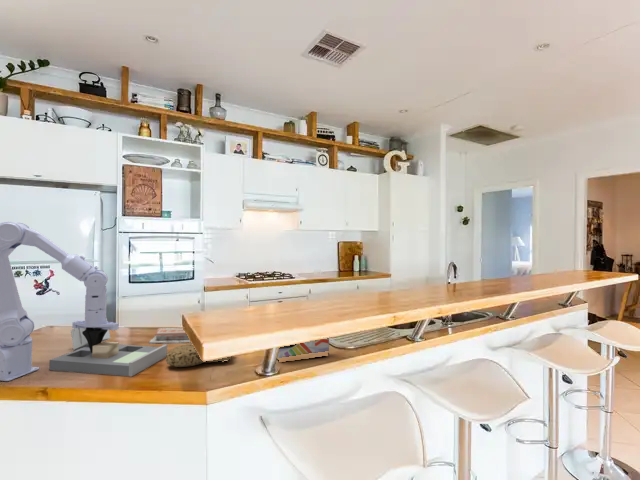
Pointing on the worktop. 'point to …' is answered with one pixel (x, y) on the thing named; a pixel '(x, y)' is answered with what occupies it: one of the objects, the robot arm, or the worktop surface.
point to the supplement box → (83, 338)
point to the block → (105, 349)
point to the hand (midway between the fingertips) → (94, 351)
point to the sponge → (186, 356)
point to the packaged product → (170, 336)
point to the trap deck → (110, 360)
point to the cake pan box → (304, 348)
